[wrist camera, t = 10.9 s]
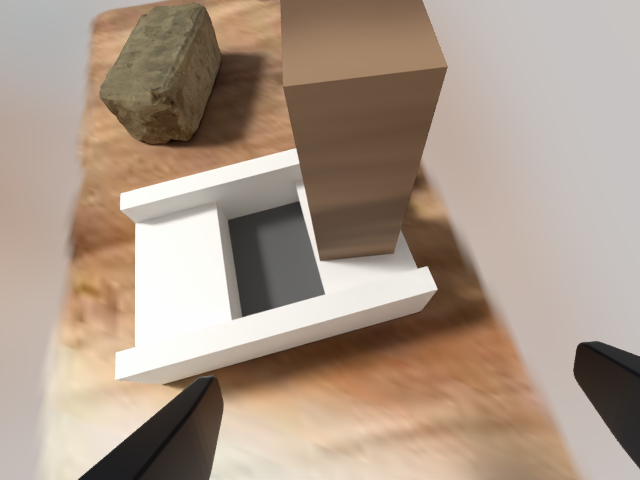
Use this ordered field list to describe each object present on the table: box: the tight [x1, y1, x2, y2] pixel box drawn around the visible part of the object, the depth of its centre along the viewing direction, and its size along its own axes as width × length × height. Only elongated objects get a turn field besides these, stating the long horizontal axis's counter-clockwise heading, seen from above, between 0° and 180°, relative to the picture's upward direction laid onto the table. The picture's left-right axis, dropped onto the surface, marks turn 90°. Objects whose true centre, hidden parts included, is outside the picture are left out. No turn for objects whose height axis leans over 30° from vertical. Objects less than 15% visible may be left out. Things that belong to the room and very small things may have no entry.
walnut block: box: [280, 0, 447, 261], centre depth 14 cm, size 4×4×11 cm
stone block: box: [100, 3, 221, 144], centre depth 27 cm, size 6×12×5 cm, turn 175°
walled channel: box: [115, 148, 438, 385], centre depth 19 cm, size 10×15×4 cm
